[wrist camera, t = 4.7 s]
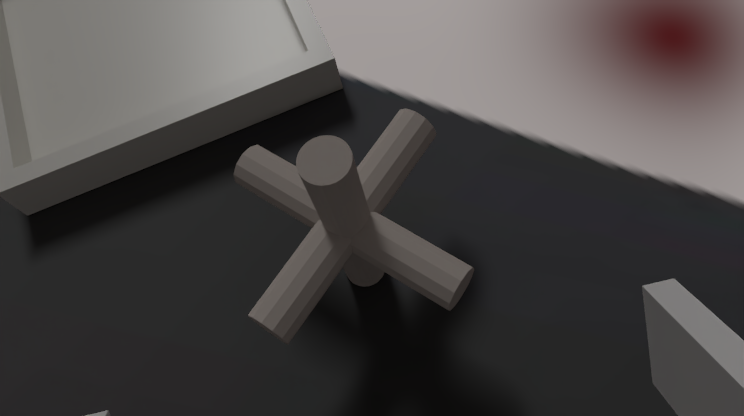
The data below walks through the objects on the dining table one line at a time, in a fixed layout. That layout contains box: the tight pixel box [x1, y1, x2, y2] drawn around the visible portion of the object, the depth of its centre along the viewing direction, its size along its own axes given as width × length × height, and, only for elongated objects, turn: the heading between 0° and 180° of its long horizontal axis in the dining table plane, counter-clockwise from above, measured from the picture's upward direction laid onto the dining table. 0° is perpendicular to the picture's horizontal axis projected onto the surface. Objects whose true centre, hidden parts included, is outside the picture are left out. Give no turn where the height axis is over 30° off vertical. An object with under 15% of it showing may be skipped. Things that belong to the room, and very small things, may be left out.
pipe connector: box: [234, 109, 474, 344], centre depth 26 cm, size 10×10×10 cm
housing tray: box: [0, 0, 343, 216], centre depth 37 cm, size 17×17×2 cm
